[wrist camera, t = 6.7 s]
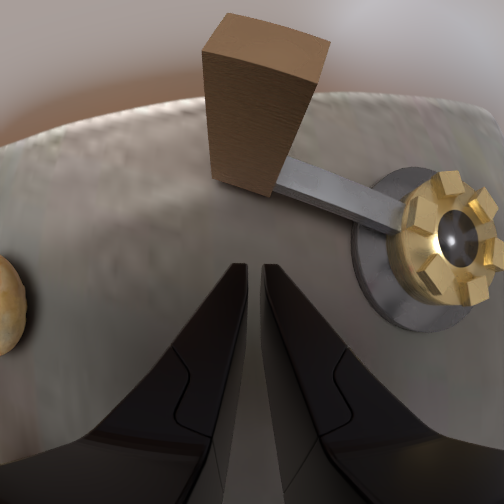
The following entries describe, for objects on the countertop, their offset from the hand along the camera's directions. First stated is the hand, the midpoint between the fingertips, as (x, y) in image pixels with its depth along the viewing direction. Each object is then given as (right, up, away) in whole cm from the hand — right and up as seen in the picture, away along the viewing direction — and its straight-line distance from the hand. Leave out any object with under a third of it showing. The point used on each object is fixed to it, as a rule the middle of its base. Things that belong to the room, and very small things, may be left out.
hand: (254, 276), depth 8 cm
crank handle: (+8, +3, +13) cm, 15 cm away
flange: (+14, +1, +15) cm, 20 cm away
